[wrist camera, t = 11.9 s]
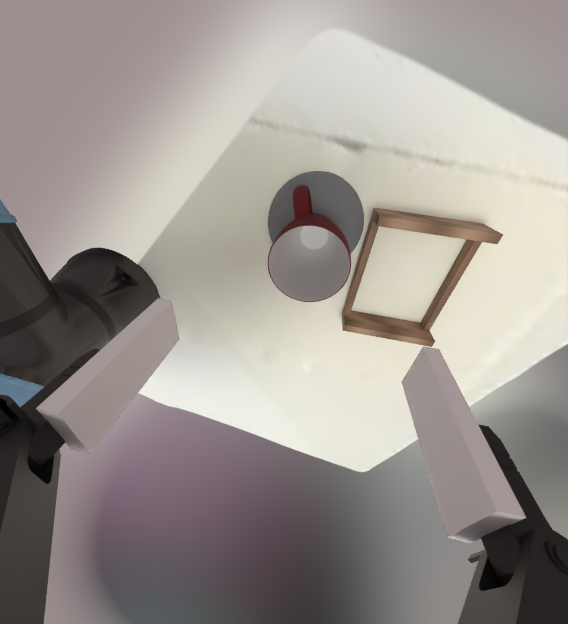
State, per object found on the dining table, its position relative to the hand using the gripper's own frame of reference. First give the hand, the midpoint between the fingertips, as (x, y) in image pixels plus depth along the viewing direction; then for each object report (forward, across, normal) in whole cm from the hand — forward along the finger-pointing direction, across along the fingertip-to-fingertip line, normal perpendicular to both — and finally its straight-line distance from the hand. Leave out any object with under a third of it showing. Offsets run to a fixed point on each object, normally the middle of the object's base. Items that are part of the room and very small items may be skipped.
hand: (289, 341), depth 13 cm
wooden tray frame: (+23, +13, -5) cm, 27 cm away
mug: (+22, 0, 0) cm, 22 cm away
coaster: (+23, 0, 0) cm, 23 cm away
